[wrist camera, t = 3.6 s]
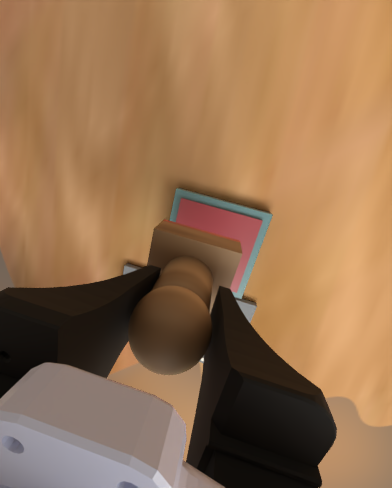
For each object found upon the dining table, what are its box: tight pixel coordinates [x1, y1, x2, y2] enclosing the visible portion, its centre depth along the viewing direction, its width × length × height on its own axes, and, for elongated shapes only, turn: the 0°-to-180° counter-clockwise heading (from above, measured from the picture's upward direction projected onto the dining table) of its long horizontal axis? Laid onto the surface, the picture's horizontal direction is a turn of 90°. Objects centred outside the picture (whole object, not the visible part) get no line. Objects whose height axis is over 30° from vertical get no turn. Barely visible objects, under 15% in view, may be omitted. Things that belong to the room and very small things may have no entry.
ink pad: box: [170, 188, 272, 299], centre depth 20 cm, size 8×8×1 cm
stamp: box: [128, 219, 242, 375], centre depth 11 cm, size 5×5×8 cm
